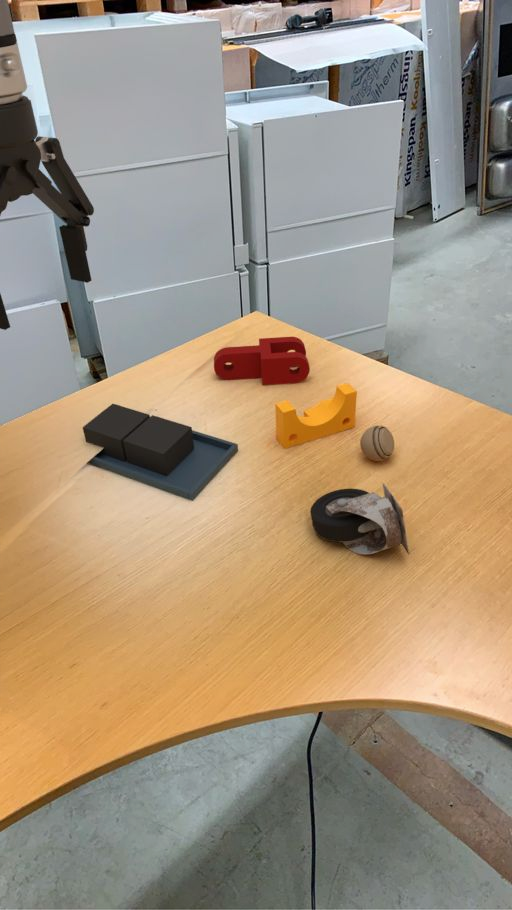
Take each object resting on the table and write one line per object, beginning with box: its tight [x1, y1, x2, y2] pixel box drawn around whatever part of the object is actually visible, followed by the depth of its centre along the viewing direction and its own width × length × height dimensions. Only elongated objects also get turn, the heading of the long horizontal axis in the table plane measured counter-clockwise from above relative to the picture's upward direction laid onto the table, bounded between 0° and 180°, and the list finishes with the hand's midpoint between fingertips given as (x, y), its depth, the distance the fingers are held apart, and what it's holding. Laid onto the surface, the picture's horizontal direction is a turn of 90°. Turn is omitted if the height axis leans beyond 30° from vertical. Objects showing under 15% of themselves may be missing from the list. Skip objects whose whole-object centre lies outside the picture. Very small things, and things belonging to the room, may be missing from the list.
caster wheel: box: [309, 482, 410, 555], centre depth 80 cm, size 7×11×10 cm
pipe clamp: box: [274, 382, 358, 450], centre depth 98 cm, size 12×4×6 cm, turn 114°
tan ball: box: [359, 425, 395, 462], centre depth 92 cm, size 5×5×5 cm
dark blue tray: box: [86, 429, 239, 502], centre depth 95 cm, size 21×12×2 cm, turn 61°
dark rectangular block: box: [123, 414, 194, 476], centre depth 94 cm, size 7×7×4 cm
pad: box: [82, 403, 151, 462], centre depth 97 cm, size 7×7×4 cm
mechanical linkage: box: [213, 336, 311, 386], centre depth 112 cm, size 16×7×5 cm, turn 93°
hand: (42, 302), depth 77 cm, fingers open, 13 cm apart
